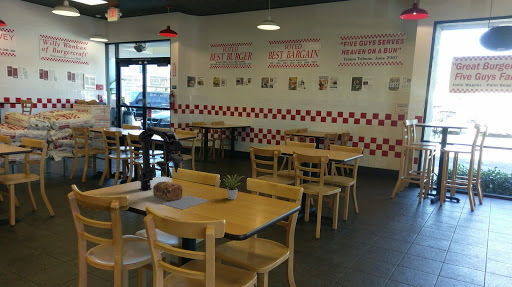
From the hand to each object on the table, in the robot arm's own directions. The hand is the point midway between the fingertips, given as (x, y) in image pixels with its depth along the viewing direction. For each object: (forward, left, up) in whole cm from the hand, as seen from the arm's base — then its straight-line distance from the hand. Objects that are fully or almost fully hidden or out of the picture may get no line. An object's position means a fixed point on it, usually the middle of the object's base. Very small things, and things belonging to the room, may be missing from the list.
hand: (171, 174), depth 235 cm
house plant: (+34, +23, -15) cm, 44 cm away
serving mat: (+17, -4, -15) cm, 23 cm away
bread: (+1, -4, -15) cm, 15 cm away
